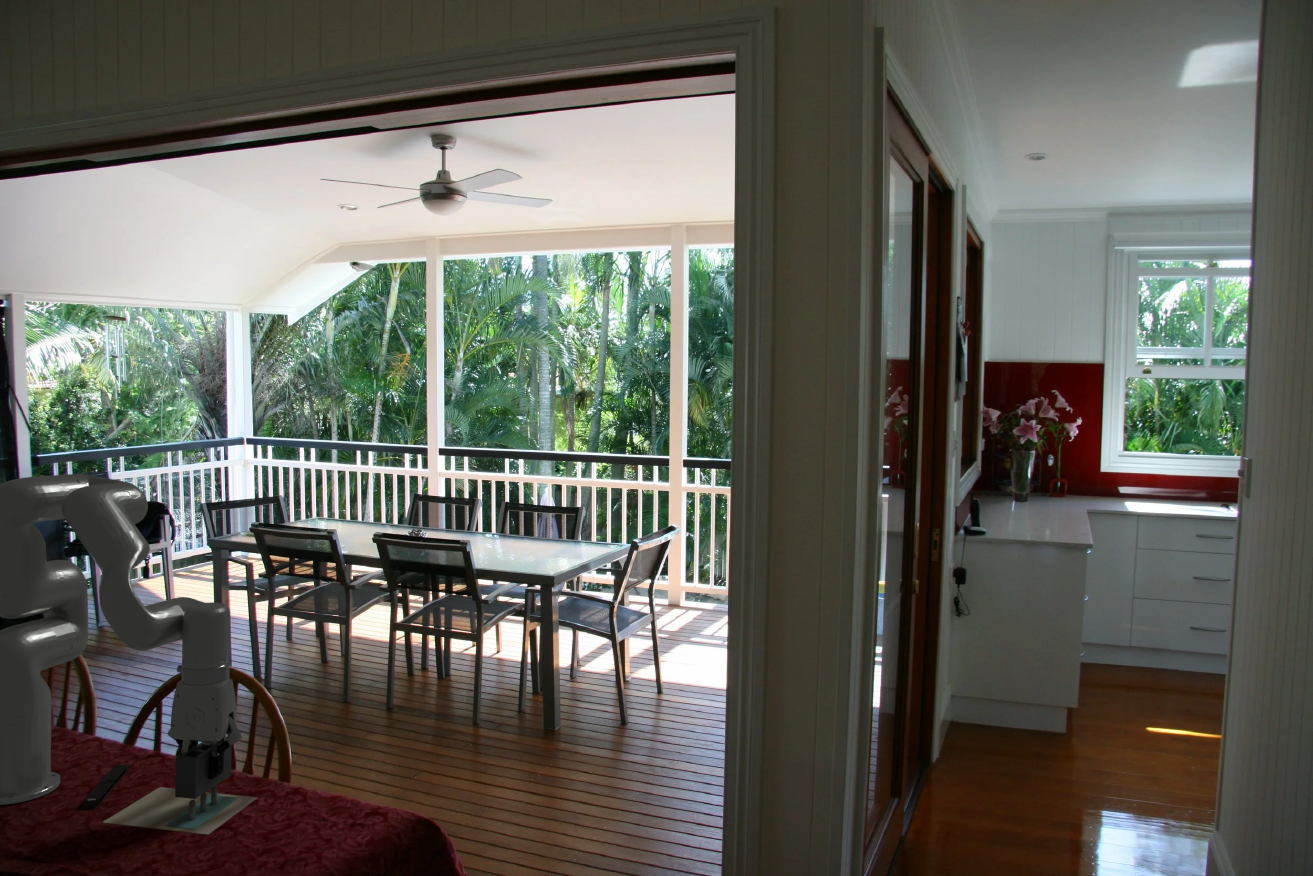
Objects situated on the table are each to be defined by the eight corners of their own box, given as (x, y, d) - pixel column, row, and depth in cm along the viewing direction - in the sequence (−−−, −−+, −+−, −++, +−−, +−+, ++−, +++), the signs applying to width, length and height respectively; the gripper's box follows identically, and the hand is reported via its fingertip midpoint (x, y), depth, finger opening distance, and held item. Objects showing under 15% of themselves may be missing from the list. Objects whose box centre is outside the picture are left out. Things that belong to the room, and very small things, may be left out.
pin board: (102, 830, 148) (102, 802, 148) (159, 795, 162) (160, 769, 162) (208, 843, 145) (208, 814, 145) (257, 805, 159) (257, 779, 159)
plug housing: (195, 799, 148) (195, 759, 147) (175, 797, 148) (175, 757, 148) (230, 775, 157) (231, 737, 157) (212, 773, 158) (212, 736, 158)
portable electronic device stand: (116, 777, 169) (116, 762, 169) (131, 776, 170) (131, 761, 170) (79, 820, 152) (80, 803, 152) (96, 819, 153) (96, 802, 153)
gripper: (148, 676, 149) (146, 779, 150) (235, 684, 147) (233, 788, 148) (177, 664, 157) (176, 762, 158) (261, 670, 155) (259, 770, 155)
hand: (204, 774), depth 153 cm, fingers closed on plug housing, 3 cm apart
